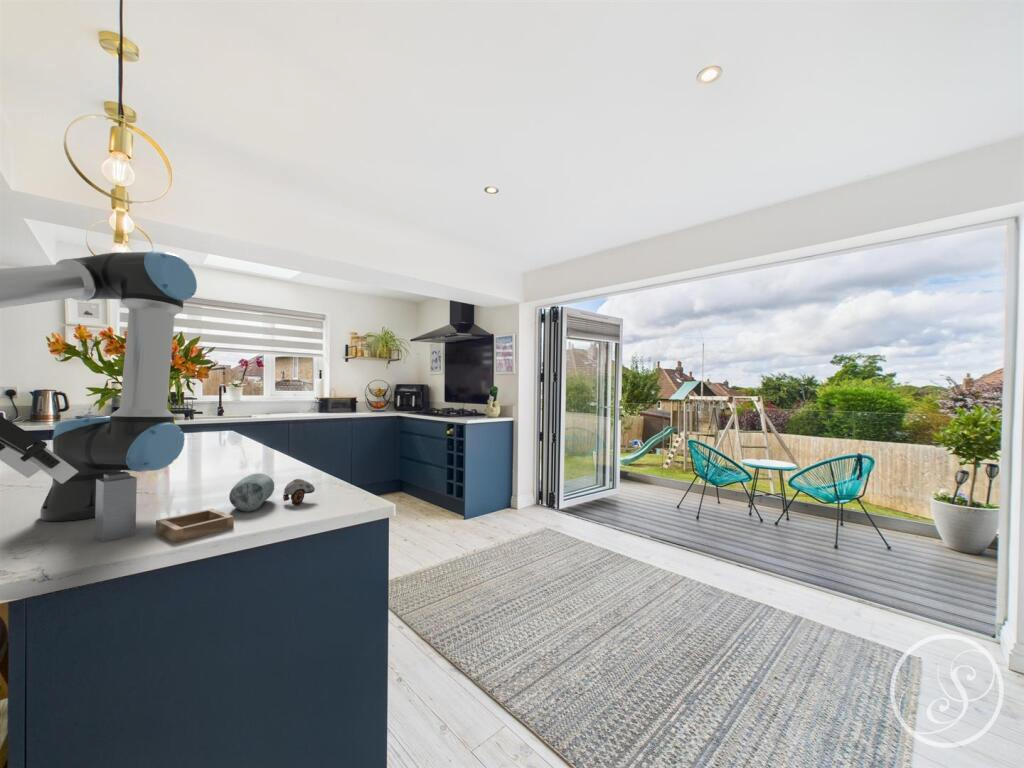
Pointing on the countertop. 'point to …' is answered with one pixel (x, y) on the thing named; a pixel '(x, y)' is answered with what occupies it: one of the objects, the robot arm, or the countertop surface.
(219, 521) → the tray
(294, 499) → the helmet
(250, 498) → the mottled river stone
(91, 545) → the countertop surface
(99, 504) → the grey upright rectangular pillar
